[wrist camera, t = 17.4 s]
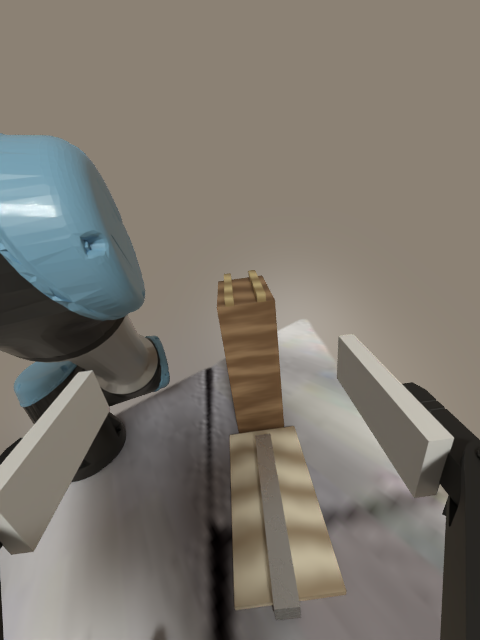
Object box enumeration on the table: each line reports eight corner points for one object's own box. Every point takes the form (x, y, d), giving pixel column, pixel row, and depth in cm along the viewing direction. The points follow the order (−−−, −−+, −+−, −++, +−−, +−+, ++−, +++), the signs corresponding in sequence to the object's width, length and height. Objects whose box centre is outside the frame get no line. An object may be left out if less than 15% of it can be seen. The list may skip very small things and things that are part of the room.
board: (345, 594, 33) (346, 591, 32) (235, 610, 33) (234, 606, 32) (294, 429, 56) (294, 425, 56) (230, 438, 56) (229, 435, 56)
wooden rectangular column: (284, 427, 57) (274, 291, 44) (238, 433, 57) (215, 299, 44) (271, 381, 72) (261, 269, 58) (235, 386, 72) (217, 275, 58)
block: (300, 617, 31) (300, 606, 29) (275, 620, 31) (274, 609, 29) (271, 444, 52) (270, 433, 51) (256, 446, 52) (255, 435, 51)
